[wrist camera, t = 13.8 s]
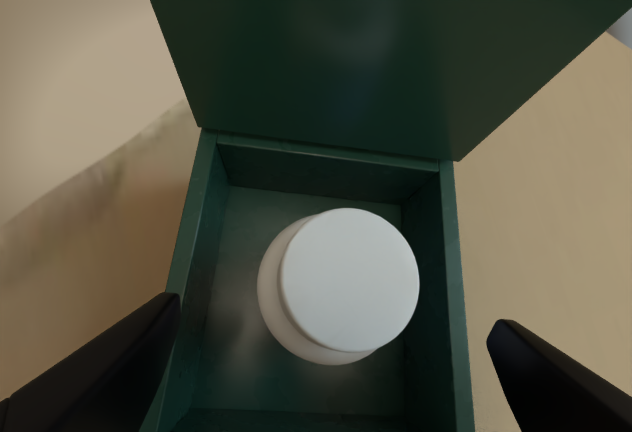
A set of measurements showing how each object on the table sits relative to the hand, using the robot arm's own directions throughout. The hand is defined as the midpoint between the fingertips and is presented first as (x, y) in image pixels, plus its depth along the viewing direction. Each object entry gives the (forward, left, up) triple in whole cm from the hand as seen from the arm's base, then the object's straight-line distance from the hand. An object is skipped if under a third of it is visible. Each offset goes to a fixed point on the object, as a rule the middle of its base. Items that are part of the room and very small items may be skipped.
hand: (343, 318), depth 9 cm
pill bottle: (+1, 0, -9) cm, 9 cm away
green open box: (+1, 0, -10) cm, 10 cm away
